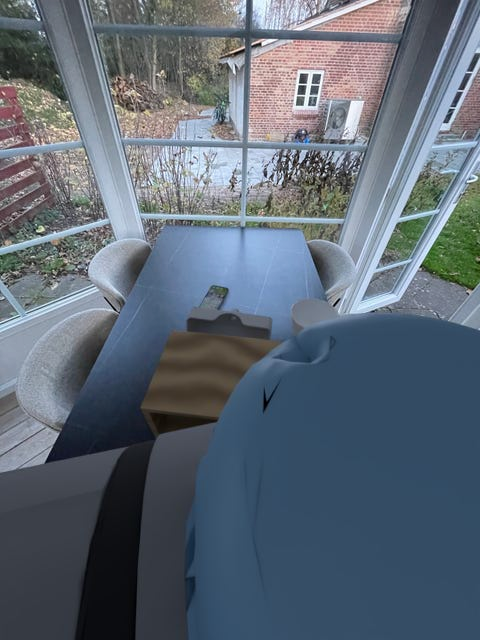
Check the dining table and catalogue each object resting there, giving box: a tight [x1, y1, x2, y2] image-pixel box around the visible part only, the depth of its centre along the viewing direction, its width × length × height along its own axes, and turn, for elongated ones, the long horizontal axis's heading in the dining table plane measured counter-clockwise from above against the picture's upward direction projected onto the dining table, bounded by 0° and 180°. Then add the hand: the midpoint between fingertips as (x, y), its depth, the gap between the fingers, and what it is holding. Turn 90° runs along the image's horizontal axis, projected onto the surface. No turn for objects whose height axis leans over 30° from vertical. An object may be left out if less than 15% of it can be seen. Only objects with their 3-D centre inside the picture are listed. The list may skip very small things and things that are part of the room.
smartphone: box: [198, 284, 229, 310], centre depth 101 cm, size 7×1×15 cm
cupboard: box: [140, 329, 285, 439], centre depth 59 cm, size 18×26×24 cm
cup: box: [290, 297, 340, 337], centre depth 80 cm, size 14×14×16 cm
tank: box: [185, 306, 273, 340], centre depth 83 cm, size 25×16×12 cm, turn 80°
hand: (259, 575), depth 30 cm, fingers open, 3 cm apart
